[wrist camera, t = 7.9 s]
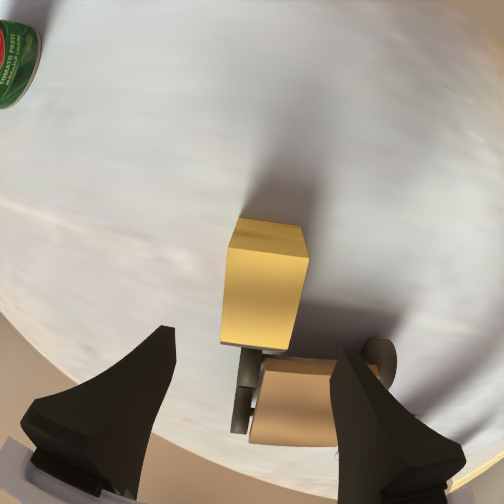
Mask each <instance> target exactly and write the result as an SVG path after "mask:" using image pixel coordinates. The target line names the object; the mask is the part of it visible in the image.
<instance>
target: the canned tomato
mask: <svg viewBox="0 0 504 504" xmlns="http://www.w3.org/2000/svg"><path fill="white" fill-rule="evenodd" d="M40 54H41V39H40V34H39V32H38V30H37V29H36V28H35V27H34V26H31V25H24V24H20V23H17V22H11V21H5V20H0V109H7V108H10V107H12V106H13V105H15V104H16V103H17V102H18V101H19V100H20V99H21V98H22V97H23V95H24V94H25V92H26V91H27V89H28V88H29V86H30V84H31V82H32V80H33V78H34V76H35V73H36V70H37V67H38V64H39V60H40Z"/></svg>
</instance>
